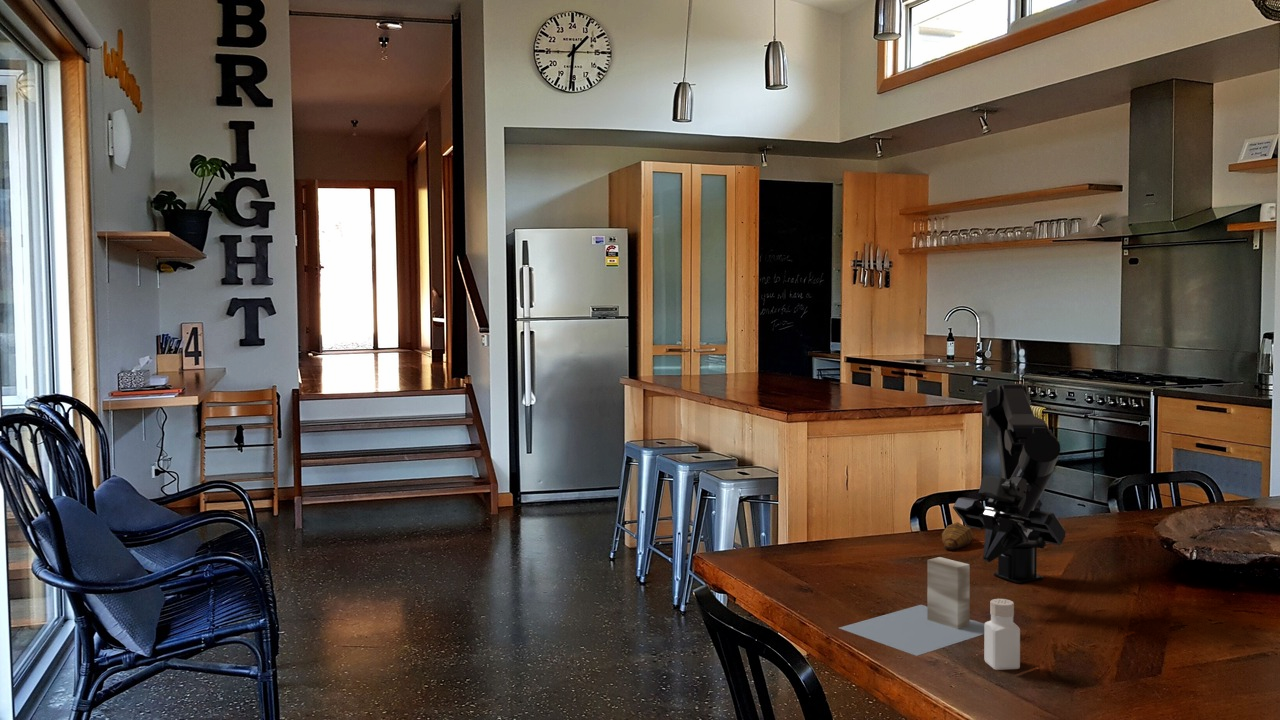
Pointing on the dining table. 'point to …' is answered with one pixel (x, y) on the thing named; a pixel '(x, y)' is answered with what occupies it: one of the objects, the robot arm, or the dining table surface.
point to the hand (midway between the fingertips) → (986, 560)
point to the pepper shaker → (1002, 637)
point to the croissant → (956, 536)
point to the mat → (913, 631)
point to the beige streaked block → (948, 592)
